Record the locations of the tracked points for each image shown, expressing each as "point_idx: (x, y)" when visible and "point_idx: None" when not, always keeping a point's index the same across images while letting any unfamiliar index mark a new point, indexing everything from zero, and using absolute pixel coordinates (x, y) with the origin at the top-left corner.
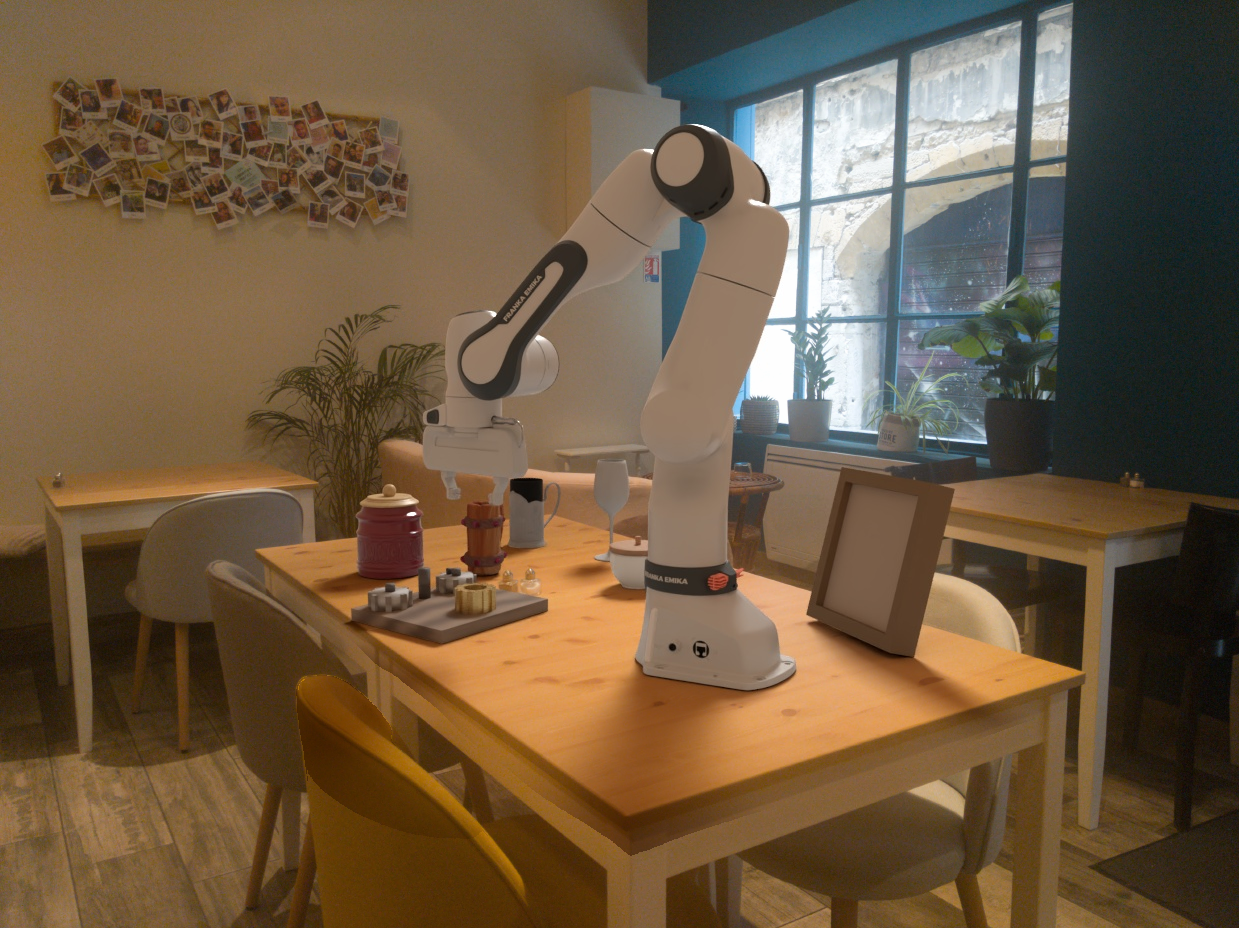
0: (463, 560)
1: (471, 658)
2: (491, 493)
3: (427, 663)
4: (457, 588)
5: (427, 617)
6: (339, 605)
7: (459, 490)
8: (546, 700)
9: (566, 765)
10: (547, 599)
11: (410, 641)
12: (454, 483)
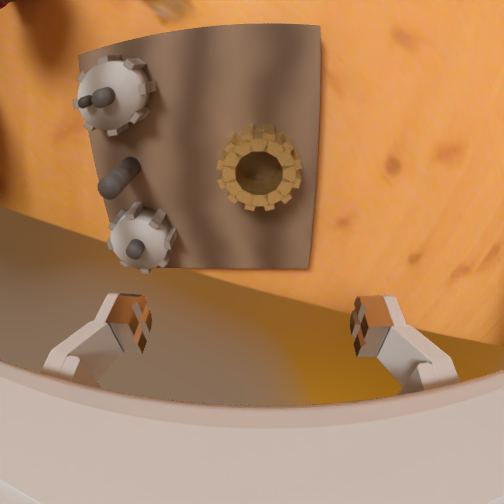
0: (5, 4)
1: (371, 271)
2: (362, 348)
3: (340, 303)
4: (237, 199)
5: (239, 239)
6: (58, 224)
7: (132, 321)
8: (469, 299)
9: (490, 341)
10: (319, 26)
11: (264, 270)
12: (95, 339)
